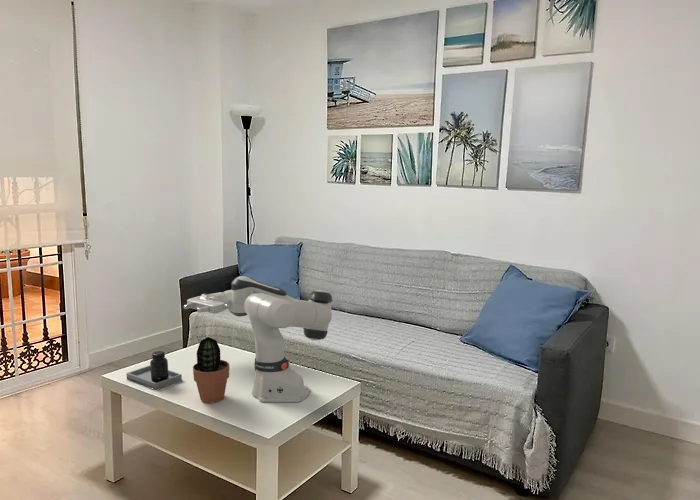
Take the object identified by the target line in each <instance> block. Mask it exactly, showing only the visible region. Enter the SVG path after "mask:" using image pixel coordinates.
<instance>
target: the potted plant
mask: <svg viewBox="0 0 700 500" xmlns="http://www.w3.org/2000/svg"><path fill="white" fill-rule="evenodd" d="M192 375H193V381H194V382H195V383H196V387H197V391H198V394H199V395H198V396H199V399H200V401H201V402H202V403H207V404H212V403H214V404H215V403H218V402H221V401H222V400H224V398H225V395H226V389H227V388H226V387H227V383H228V379H229V378H230V362H228V361H226V360H223V359H221V348H220V346H219V343H218V342H217V340H216V339H214V338H212V337H209V336H207V337H205V338H204V339H201V340H200V342H199V344H198V347H197V350H196V363H195V364H194V365H193V366H192Z"/></svg>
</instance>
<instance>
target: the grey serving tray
mask: <svg viewBox="0 0 700 500" xmlns="http://www.w3.org/2000/svg"><path fill="white" fill-rule="evenodd" d="M168 374H169V379H166V380H163V381H161V382H158V383H155V382H152V381H151V368H150V364H149V365H146V366H143V367H141V368H138V369H134V370H132V371H129V372H126V379H127V380H128V381H132V382H133V383H136V382H137V383H136V384H139V385H142V386H144V387H148V388H150V389H152V388H153V390H154V391H155V390H156V391H157V389H158V390H160V389H162V388H165V387H167V386H170V385H172V384H175V383H178V382H182V380H183V379H182V378H183V377H182V374H181V373H178V372H175V371H173V370H169V369H168Z"/></svg>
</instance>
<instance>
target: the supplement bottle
mask: <svg viewBox="0 0 700 500" xmlns="http://www.w3.org/2000/svg"><path fill="white" fill-rule="evenodd" d="M168 362H169V361H168V359H167V357H166V354H165V351H164V350H155V351H154V352H152V353H151V360H150V362H149V363H150V364H149V365H150V368H151V381H152V382H155V383H158V382H161V381H163V380H166V379H169V374H168V370H169V363H168Z"/></svg>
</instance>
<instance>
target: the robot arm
mask: <svg viewBox="0 0 700 500" xmlns="http://www.w3.org/2000/svg"><path fill="white" fill-rule="evenodd" d="M254 292H256V293H254ZM332 303H333V296H332V294H331V293H330V292H328V291H326V290H323V289H316V290H311V292H310V293H309V295H308V300H302V299H297V298H294V297H292V296H290V295H288V294H287V291H285V290H284V289H282V288H280V287H277V286H274V285H271V284H268V283H265V282H261V281H258V280H256V279H253V278H251V277H248V276H245V275H241V276H239V275H238V276H236V277H235V278H234V279H233V280H232V281H231V289H229V290H225V291H223V292H222V291H221V292H220V291H219V292H215V293H202V294H201V295H197V296H195V297H191V298H188V299H187V300H186V304H184V305H183V309H184V310H188V309H193V310H197V311H196V312H197V313H200V314H201V313H210V314H219V313H222V312H223V313H224V311H226V310H228V311H229V312H230V313H231V315H234V316H235V317H246V316H247V317H248V320H249V321H250V325H251V329H252V332H253V336H254V345H255V346H254V347H255V351H254V352H255V358H254V363H253V365H254V373H255V375H254V383H253V388H252V392H251V394H252V396H254V398H257V399H258V401H259V402H260V403H261V402H262V403H299V402H302V401H304V400H306V398H307V397H308V396H309V394H310V393H311V392H310V388H309V386H308V385H305V383H304V379H303V376H302V374H300V373H299V372H297V371H296V370H294V369H293V368H292V367H290V362H291V359H290V358H288V359H287V358H286V356H285V342H284V341H285V339H284V335H283V334H282V333H281V331H280V329H286V328H303V335H304V336H305V338H307V339H309V340H311V341H321V340H324V339H326V337H327V334H328V333H329V332H328V329H329V325H330V323H331V321H332V319H333V318H332V316H333V314H332Z"/></svg>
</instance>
